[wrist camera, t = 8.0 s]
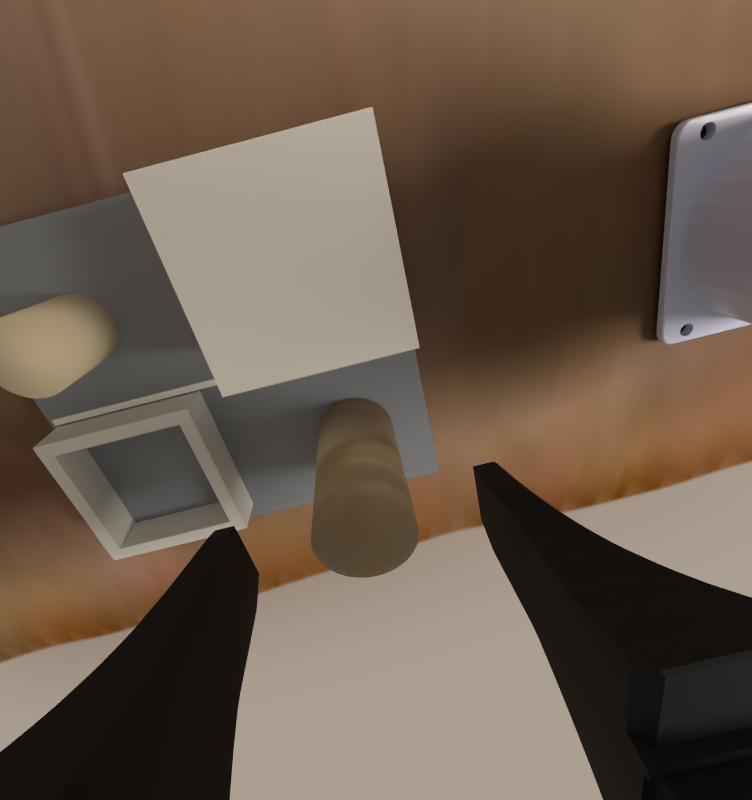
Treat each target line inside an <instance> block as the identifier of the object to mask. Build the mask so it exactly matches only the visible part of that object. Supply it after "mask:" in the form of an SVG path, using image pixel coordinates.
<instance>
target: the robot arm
mask: <svg viewBox="0 0 752 800" xmlns="http://www.w3.org/2000/svg"><path fill="white" fill-rule="evenodd" d="M704 125H705V126H706V129H707V132H706V135H705V137H704V138H703V139H702V138H701V136H700V132H701V129H702V127H703V126H704ZM751 324H752V102H751V103H747V104H743V105H739V106H736V107H732V108H728V109H724V110H720V111H717V112H713V113H709V114H705V115H701V116H698V117H694V118H690V119H687V120H684V121H682V122H681V123H680V124H679V125H678V126H677V127H676V128H675V130H674V132H673V133H672V138H671V145H670V158H669V172H668V185H667V199H666V212H665V226H664V239H663V253H662V266H661V279H660V293H659V306H658V320H657V333H656V334H657V338H658V339H659V341H662V342H664V343H666V344H674V343H678V342H682V341H687V340H691V339H695V338H699V337H703V336H707V335H711V334H715V333H719V332H723V331H727V330H731V329H735V328H739V327H743V326H747V325H751ZM684 325H686V327H685V329H684V330H683V331H682V332H680V331H681V328H682V327H683V326H684ZM473 469H474V476H475V482H476V488H477V495H478V501H479V507H480V514H481V519H482V522H483V525H484V527H485V530H486V533H487V535H488V538H489V540H490V543H491V545H492V548H493V550H494V552H495V554H496V556H497V558H498V560H499V562H500V564H501V566H502V568H503V569H504V571H505V573H506V575H507V577H508V579H509V581H510V583H511V585H512V587H513V589H514V590H515V592H516V594H517V596H518V598H519V600H520V602H521V604H522V606H523V607H524V609H525V611H526V613H527V615H528V617H529V619H530V621H531V623H532V625H533V627H534V629H535V631H536V633H537V635H538V637H539V639H540V642H541V644H542V647H543V649H544V652H545V654H546V656H547V659H548V661H549V664H550V666H551V668H552V671H553V673H554V675H555V678H556V680H557V683H558V685H559V688H560V690H561V693H562V695H563V698H564V700H565V703H566V705H567V708H568V710H569V712H570V715H571V717H572V720H573V723H574V725H575V728H576V730H577V733H578V735H579V738H580V741H581V743H582V745H583V748H584V751H585V753H586V756H587V758H588V761H589V763H590V766H591V769H592V771H593V774H594V776H595V779H596V782H597V784H598V787H599V790H600V792H601V795H602V797H603V800H752V598H751V597H748V596H744V595H742V594H739V593H736V592H732V591H729V590H726V589H723V588H720V587H717V586H714V585H711V584H708V583H705V582H703V581H700V580H697V579H695V578H692V577H690V576H687V575H684V574H682V573H679V572H676V571H674V570H671V569H669V568H667V567H664V566H662V565H659V564H657V563H655V562H653V561H650V560H648V559H646V558H644V557H641V556H639V555H637V554H635V553H633V552H631V551H628V550H626V549H624V548H622V547H620V546H618V545H616V544H614V543H612V542H610V541H608V540H606V539H605V538H603V537H601V536H599V535H597V534H595V533H594V532H592V531H590V530H588V529H586V528H585V527H583V526H582V525H580V524H579V523H577V522H575V521H574V520H572V519H570V518H569V517H567V516H566V515H564V514H563V513H561V512H560V511H558V510H557V509H555V508H554V507H552V506H551V505H550V504H548V503H547V502H545V501H544V500H543V499H541V498H540V497H538V496H537V495H536V494H534V493H533V492H532V491H530V490H529V489H528V488H526V487H525V486H524V485H523V484H521V483H520V482H519V481H517V480H516V479H515V478H514V477H513V476H511V475H510V474H509V473H508V472H506V471H505V470H504V469H503V468H502V467H501V466H499V465H498V464H497V463H495V462H490V463H486V464H482V465H478V466H474V467H473ZM258 581H259V573H258V571H257V569H256V567H255V565H254V563H253V561H252V559H251V557H250V555H249V553H248V552H247V550H246V548H245V546H244V544H243V542H242V540H241V538H240V536H239V534H238V532H237V530H236V528H235V526H231V527H227V528H223V529H219V530H215V531H214V532H213V533H212V534H211V535H210V536H209V538H208V539H207V540H206V541H205V543H204V544H203V545H202V546H201V548H200V549H199V550H198V552H197V553H196V554H195V555H194V557H193V558H192V559H191V561H190V562H189V563H188V564H187V566H186V567H185V568H184V570H183V571H182V572H181V573H180V575H179V576H178V577H177V578H176V580H175V581H174V582H173V584H172V585H171V586H170V587H169V589H168V590H167V591H166V592H165V594H164V595H163V596H162V597H161V598H160V599H159V601H158V602H157V603H156V604H155V605H154V607H153V608H152V609H151V610H150V611H149V612H148V614H147V615H146V616H145V617H144V618H143V619H142V621H141V622H140V623H139V624H138V625H137V626H136V628H135V629H134V630H133V631H132V632H131V633H130V634H129V635H128V637H126V639H125V640H124V641H123V642H122V643H121V644H120V645H119V646H118V647H117V648H116V649H115V650H114V651H113V652H112V653H111V654H110V655H109V656H108V657H107V658H106V659H105V660H104V661H103V662H102V663H101V664H100V665H99V666H98V667H97V668H96V669H95V670H94V671H93V672H92V673H91V674H90V675H89V676H88V677H87V678H86V679H84V680H83V681H82V682H81V683H80V684H79V685H78V686H77V687H76V688H75V689H74V690H73V691H71V693H70V694H68V695H67V696H66V697H65V698H64V699H63V700H62V701H61V702H60V703H58V705H56V706H55V707H54V708H53V709H52V710H51V711H49V712H48V713H47V714H46V715H45V716H44V717H42V718H41V719H40V720H39V721H38V722H36V723H35V724H34V725H33V726H32V727H31V728H29V729H28V730H27V731H26V732H24V733H23V734H22V735H21V736H20V737H18V738H17V739H16V740H15V741H14V742H12V743H11V744H10V745H9V746H7V747H6V748H5V749H4V750H2V751H1V752H0V800H230V785H231V774H232V761H233V749H234V739H235V730H236V720H237V710H238V703H239V697H240V691H241V686H242V681H243V676H244V671H245V666H246V661H247V656H248V651H249V645H250V641H251V635H252V630H253V625H254V620H255V615H256V609H257V598H258Z"/></svg>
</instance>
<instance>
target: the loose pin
mask: <svg viewBox="0 0 752 800" xmlns="http://www.w3.org/2000/svg"><path fill="white" fill-rule="evenodd" d="M418 536H419V531H418V525H417V521H416V517H415V513H414V509H413V505H412V501H411V497H410V493H409V489H408V485H407V481H406V477H405V473H404V469H403V465H402V461H401V457H400V453H399V449H398V445H397V441H396V437H395V432H394V428H393V424H392V421H391V418H390V416H389V414H388V412H387V411H386V410H385V409H384V408H383V407H382V406H381V405H380V404H378V403H376V402H375V401H372V400H370V399H366V398H357V397H356V398H348V399H344V400H341V401H339V402H337V403H335V404H334V405H332V406H331V407H330V408H329V409H328V410H327V411H326V412H325V413H324V415H323V417H322V419H321V421H320V425H319V435H318V449H317V463H316V477H315V491H314V505H313V519H312V533H311V544H312V549H313V552H314V554H315V555H316V557H317V558H318V560H319V561H320V562H321V563H322V564H323V565H324V566H326V567H327V568H328V569H330V570H332V571H334V572H336V573H338V574H341V575H345V576H350V577H372V576H378V575H381V574H384V573H387V572H389V571H392V570H393V569H395V568H397V567H399V566H400V565H401V564H403V563H404V562H405V561H406V560H407V559H408V558H409V557H410V556H411V554H412V553H413V551H414V549H415V548H416V545H417V542H418Z"/></svg>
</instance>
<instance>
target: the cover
mask: <svg viewBox="0 0 752 800" xmlns="http://www.w3.org/2000/svg"><path fill="white" fill-rule="evenodd" d="M122 174H123V176H124V178H125V180H126V183H127V185H128V187H129V189H130V192H131V194H132V196H133V198H134V201H135V203H136V205H137V207H138V209H139V212H140V214H141V216H142V218H143V221H144V223H145V225H146V227H147V230H148V232H149V234H150V236H151V238H152V241H153V243H154V245H155V247H156V250H157V252H158V254H159V256H160V259H161V261H162V263H163V265H164V267H165V270H166V272H167V274H168V276H169V279H170V281H171V283H172V285H173V288H174V290H175V292H176V294H177V296H178V299H179V301H180V303H181V305H182V308H183V310H184V312H185V314H186V317H187V319H188V321H189V323H190V325H191V328H192V330H193V332H194V334H195V337H196V339H197V341H198V343H199V346H200V348H201V350H202V352H203V354H204V357H205V359H206V361H207V363H208V366H209V368H210V370H211V372H212V375H213V377H214V379H215V381H216V383H217V386H218V388H219V390H220V392H221V395H222V397H226V396H230V395H234V394H238V393H242V392H246V391H250V390H254V389H258V388H262V387H266V386H270V385H274V384H278V383H282V382H286V381H290V380H294V379H298V378H302V377H306V376H310V375H314V374H318V373H322V372H326V371H330V370H334V369H338V368H342V367H346V366H350V365H354V364H358V363H362V362H366V361H370V360H374V359H378V358H382V357H386V356H390V355H394V354H398V353H402V352H406V351H410V350H414V349H418V348H420V347H419V342H418V337H417V332H416V326H415V321H414V316H413V311H412V306H411V301H410V296H409V291H408V286H407V280H406V275H405V270H404V265H403V260H402V255H401V250H400V245H399V240H398V234H397V229H396V224H395V219H394V214H393V209H392V204H391V199H390V194H389V188H388V183H387V178H386V173H385V168H384V163H383V158H382V153H381V147H380V142H379V137H378V132H377V127H376V122H375V117H374V112H373V107H369V108H365V109H362V110H358V111H354V112H350V113H347V114H343V115H339V116H335V117H332V118H328V119H324V120H320V121H317V122H313V123H309V124H305V125H302V126H298V127H294V128H290V129H287V130H283V131H279V132H275V133H272V134H268V135H264V136H260V137H257V138H253V139H249V140H245V141H242V142H238V143H234V144H230V145H227V146H223V147H219V148H215V149H212V150H208V151H204V152H200V153H197V154H193V155H189V156H185V157H182V158H178V159H174V160H170V161H167V162H163V163H159V164H155V165H152V166H148V167H144V168H140V169H137V170H133V171H129V172H125V173H122Z"/></svg>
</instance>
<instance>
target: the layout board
mask: <svg viewBox="0 0 752 800" xmlns="http://www.w3.org/2000/svg"><path fill="white" fill-rule="evenodd" d="M0 386H1V387H2V388H4V389H6V390H7V391H9V392H12V393H14V394H16V395H19V396H23V397H27V398H33V400H34V401H35V403H36V404H37V406H38V407H39V409H40V410H41V411H42V413H43V414H44V416H45V417H46V419H47V420H48V422H49V423H50V425H51V426H52V428H53V429H54V430H53V431H52V432H51V433H50V434H49V435H47V436H46V437H45V438H44V439H43V440H41V441H40V442H39V443H38V444H37V445H35V446H34V447H33V448H32V449H33V450H34V451H35V453H36V454H37V456H38V457H39V458H40V460H41V461H42V462H43V464H44V465H45V466H46V468H47V469H48V471H49V472H50V473H51V475H52V476H53V477H54V479H55V480H56V482H57V483H58V484H59V486H60V487H61V488H62V490H63V491H64V493H65V494H66V495H67V497H68V498H69V499H70V501H71V502H72V504H73V505H74V506H75V508H76V509H77V510H78V512H79V513H80V514H81V516H82V517H83V519H84V520H85V521H86V523H87V524H88V525H89V527H90V528H91V530H92V531H93V532H94V534H95V535H96V536H97V538H98V539H99V541H100V542H101V543H102V545H103V546H104V547H105V549H106V550H107V552H108V553H109V554H110V556H111V557H112V558H113V560H118V559H122V558H127V557H131V556H135V555H139V554H143V553H147V552H151V551H155V550H159V549H163V548H168V547H172V546H176V545H180V544H184V543H188V542H192V541H196V540H200V539H204V538H209V536H210V535H211V534H212V533H213V532H214V531H215V530H219V529H223V528H227V527H231V526H235V528H236V530H241V529H245V528H247V525H248V522H249V518H251V517H255V516H259V515H263V514H267V513H272V512H276V511H280V510H284V509H288V508H292V507H296V506H300V505H304V504H308V503H312V502H314V491H315V477H316V463H317V449H318V435H319V425H320V421H321V419H322V417H323V415H324V413H325V412H326V411H327V410H328V409H329V408H330V407H331V406H332V405H334V404H335V403H337V402H339V401H341V400H344V399H348V398H356V397H357V398H366V399H370V400H372V401H375V402H376V403H378V404H380V405H381V406H382V407H383V408H384V409H385V410H386V411H387V412H388V414H389V416H390V418H391V421H392V424H393V428H394V432H395V437H396V441H397V445H398V449H399V453H400V457H401V461H402V465H403V469H404V473H405V477H406V480H407V479H411V478H415V477H419V476H423V475H427V474H431V473H435V472H439V471H440V470H439V465H438V460H437V456H436V451H435V446H434V441H433V436H432V431H431V426H430V421H429V416H428V411H427V406H426V401H425V397H424V392H423V387H422V382H421V377H420V372H419V367H418V362H417V357H416V352H415V349H414V350H410V351H406V352H402V353H398V354H394V355H390V356H386V357H382V358H378V359H374V360H370V361H366V362H362V363H358V364H354V365H350V366H346V367H342V368H338V369H334V370H330V371H326V372H322V373H318V374H314V375H310V376H306V377H302V378H298V379H294V380H290V381H286V382H282V383H278V384H274V385H270V386H266V387H262V388H258V389H254V390H250V391H246V392H242V393H238V394H234V395H230V396H226V397H222V395H221V392H220V390H219V388H218V386H217V383H216V381H215V379H214V377H213V375H212V372H211V370H210V368H209V366H208V363H207V361H206V359H205V357H204V354H203V352H202V350H201V348H200V346H199V343H198V341H197V339H196V337H195V334H194V332H193V330H192V328H191V325H190V323H189V321H188V319H187V317H186V314H185V312H184V310H183V308H182V305H181V303H180V301H179V299H178V296H177V294H176V292H175V290H174V288H173V285H172V283H171V281H170V279H169V276H168V274H167V272H166V270H165V267H164V265H163V263H162V261H161V259H160V256H159V254H158V252H157V250H156V247H155V245H154V243H153V241H152V238H151V236H150V234H149V232H148V230H147V227H146V225H145V223H144V221H143V218H142V216H141V214H140V212H139V209H138V207H137V205H136V203H135V201H134V198H133V196H132V194H131V192H128V193H124V194H120V195H116V196H113V197H109V198H105V199H101V200H98V201H94V202H90V203H86V204H83V205H79V206H75V207H71V208H68V209H64V210H60V211H57V212H53V213H49V214H45V215H42V216H38V217H34V218H30V219H27V220H23V221H19V222H15V223H12V224H8V225H4V226H0Z"/></svg>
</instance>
